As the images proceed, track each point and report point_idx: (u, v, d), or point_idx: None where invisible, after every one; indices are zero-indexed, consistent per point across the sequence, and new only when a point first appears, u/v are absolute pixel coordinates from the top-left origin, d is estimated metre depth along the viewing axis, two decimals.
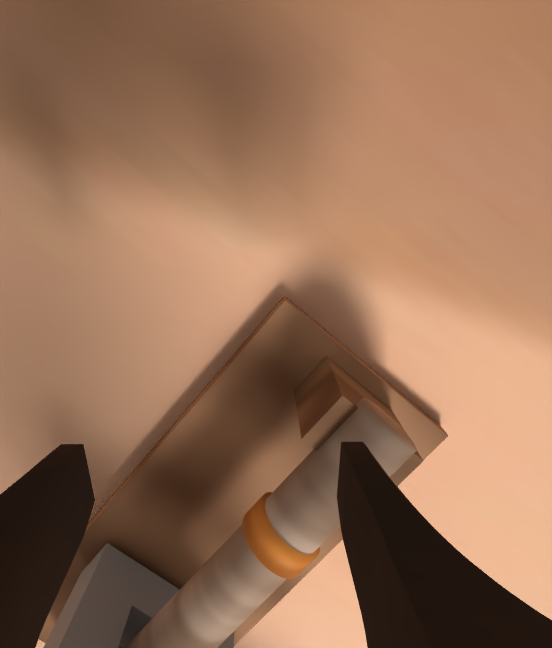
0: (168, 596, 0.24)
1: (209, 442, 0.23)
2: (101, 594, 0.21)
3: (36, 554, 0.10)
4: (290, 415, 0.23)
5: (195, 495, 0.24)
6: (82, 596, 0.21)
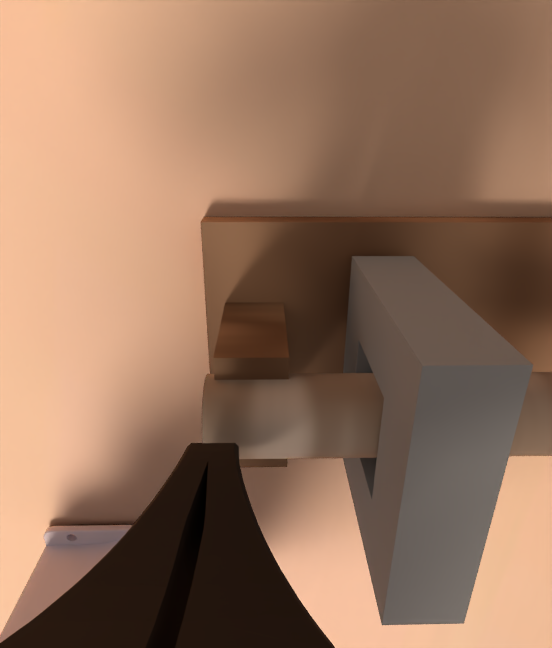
0: None
1: None
2: None
3: (194, 551, 0.10)
4: None
5: (519, 298, 0.19)
6: (442, 284, 0.15)
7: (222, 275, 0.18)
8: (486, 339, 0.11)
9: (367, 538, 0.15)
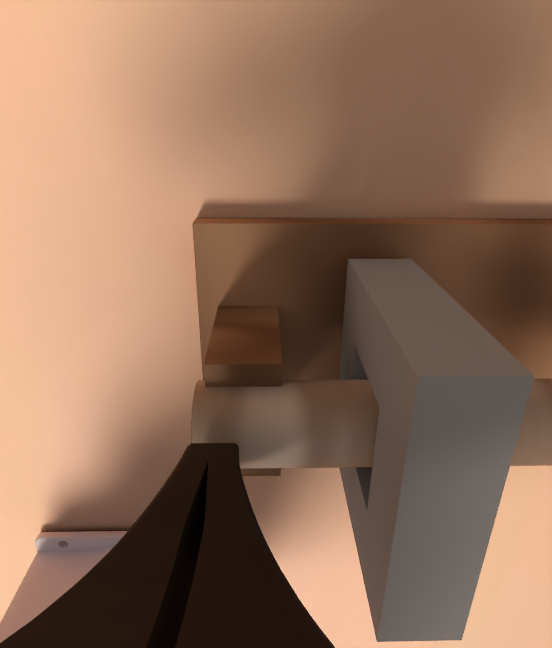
0: None
1: None
2: None
3: (194, 551, 0.10)
4: None
5: (519, 302, 0.19)
6: (440, 289, 0.14)
7: (215, 278, 0.18)
8: (485, 348, 0.10)
9: (362, 550, 0.15)
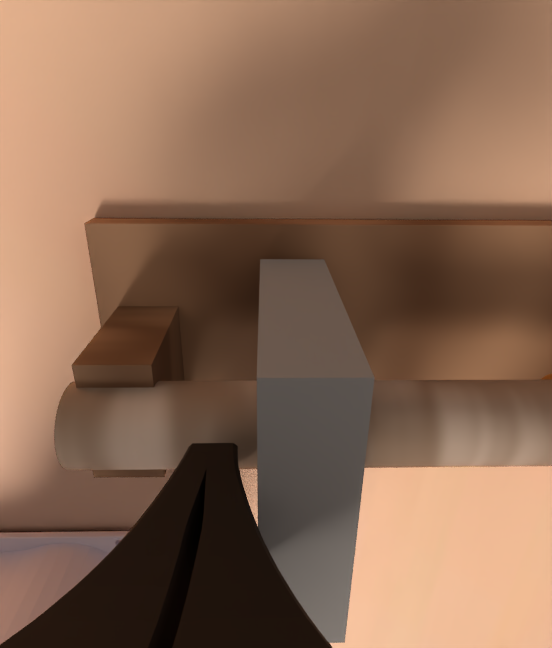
0: None
1: (499, 272, 0.18)
2: None
3: (196, 552, 0.10)
4: None
5: (422, 303, 0.19)
6: (335, 290, 0.14)
7: (112, 278, 0.18)
8: (342, 349, 0.10)
9: None
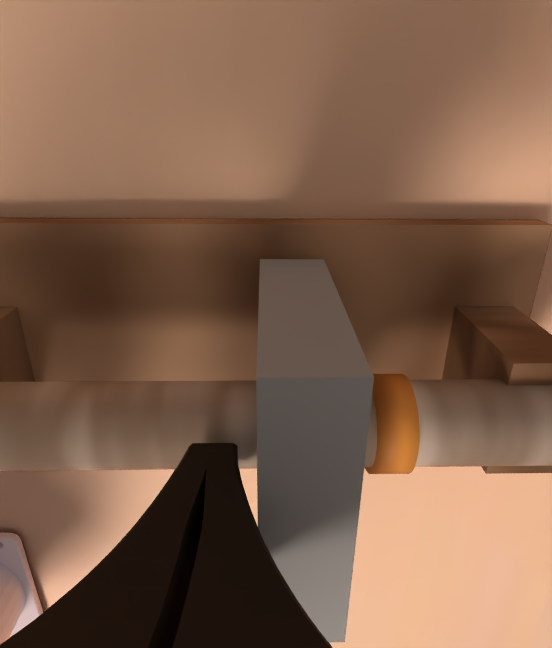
0: None
1: (337, 271, 0.18)
2: None
3: (196, 551, 0.10)
4: (425, 322, 0.19)
5: None
6: (334, 289, 0.14)
7: None
8: (342, 349, 0.10)
9: None
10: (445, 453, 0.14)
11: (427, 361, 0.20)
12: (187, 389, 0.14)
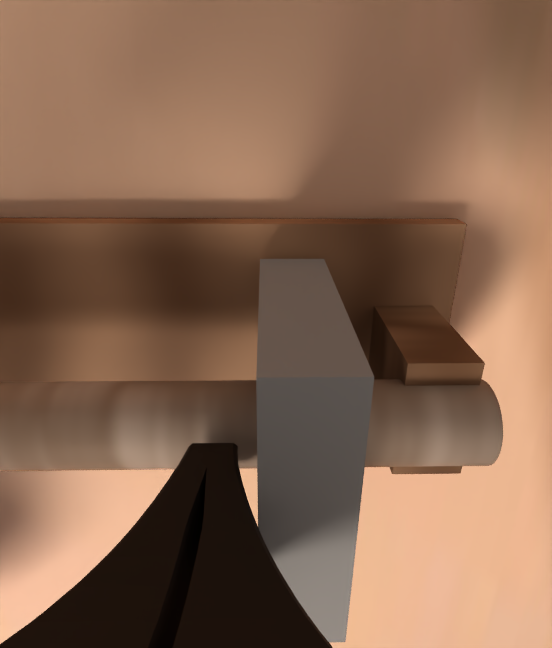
0: None
1: (253, 271, 0.18)
2: None
3: (196, 552, 0.10)
4: None
5: (181, 303, 0.18)
6: (335, 289, 0.14)
7: None
8: (342, 348, 0.10)
9: None
10: None
11: None
12: (79, 390, 0.14)
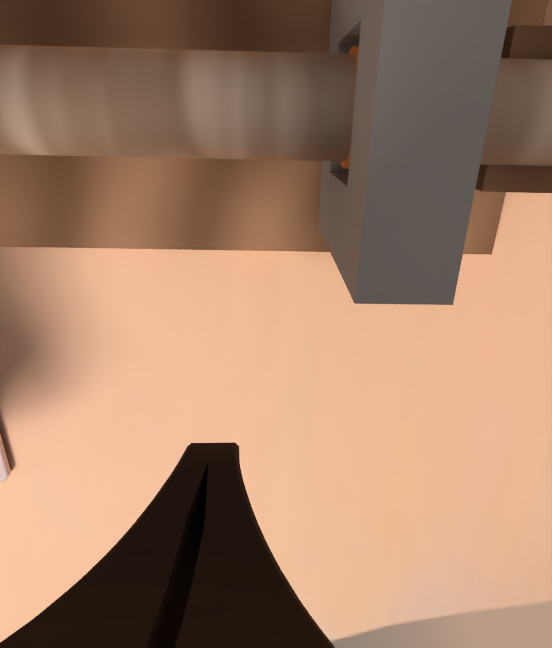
0: None
1: None
2: None
3: (194, 552, 0.10)
4: None
5: (239, 39, 0.17)
6: None
7: None
8: None
9: (342, 247, 0.13)
10: None
11: None
12: None
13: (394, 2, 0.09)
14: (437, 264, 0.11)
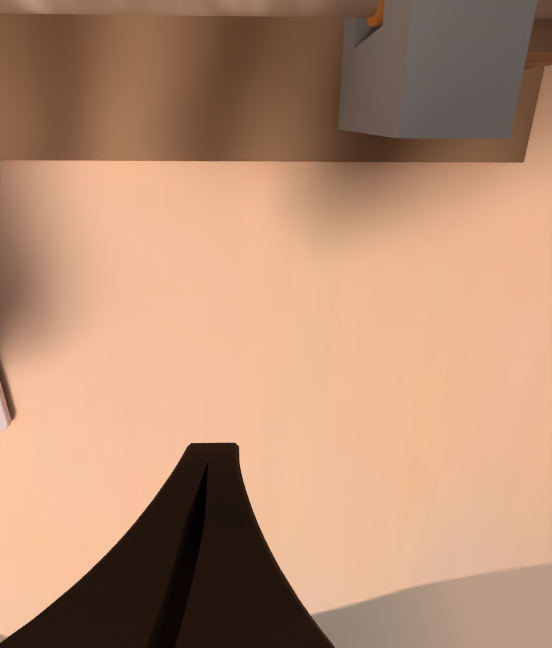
0: None
1: None
2: None
3: (194, 552, 0.10)
4: None
5: None
6: None
7: None
8: None
9: (376, 102, 0.12)
10: None
11: None
12: None
13: None
14: (494, 85, 0.09)
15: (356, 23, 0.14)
